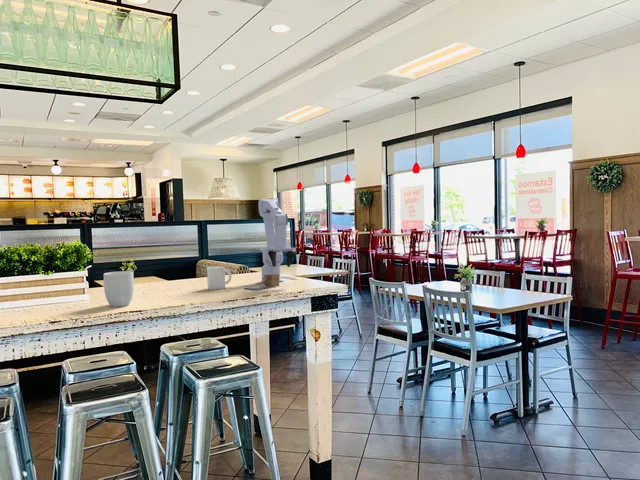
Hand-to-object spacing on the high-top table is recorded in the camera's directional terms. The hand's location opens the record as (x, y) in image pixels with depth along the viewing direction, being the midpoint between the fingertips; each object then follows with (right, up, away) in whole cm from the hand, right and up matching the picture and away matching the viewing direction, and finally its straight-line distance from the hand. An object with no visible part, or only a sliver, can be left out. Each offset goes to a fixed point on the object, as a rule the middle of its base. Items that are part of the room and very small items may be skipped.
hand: (281, 266), depth 236 cm
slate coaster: (-11, -10, -6) cm, 16 cm away
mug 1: (-61, -13, -42) cm, 75 cm away
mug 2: (-29, -11, -2) cm, 31 cm away
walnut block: (-5, -10, 0) cm, 11 cm away
